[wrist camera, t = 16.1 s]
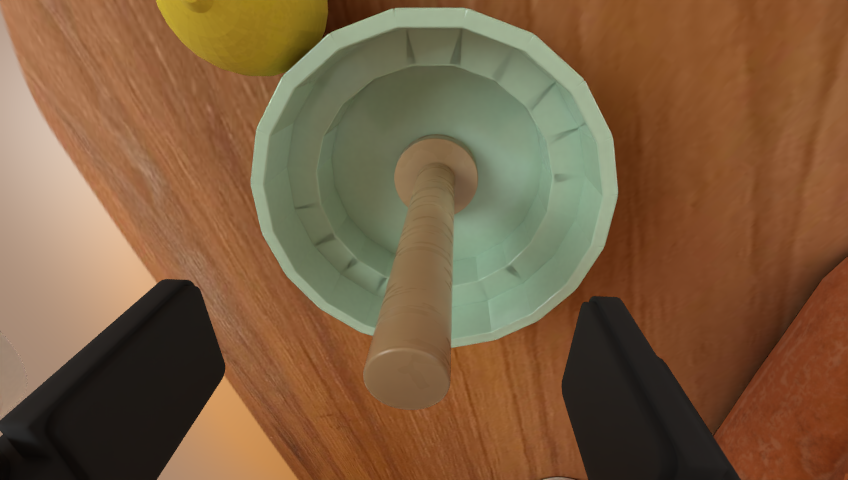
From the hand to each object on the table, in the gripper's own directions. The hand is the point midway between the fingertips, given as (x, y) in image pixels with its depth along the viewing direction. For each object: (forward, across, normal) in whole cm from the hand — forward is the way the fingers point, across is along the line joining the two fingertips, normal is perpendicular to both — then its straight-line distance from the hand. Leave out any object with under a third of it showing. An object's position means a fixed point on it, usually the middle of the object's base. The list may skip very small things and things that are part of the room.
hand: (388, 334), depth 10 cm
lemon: (+14, +6, -8) cm, 17 cm away
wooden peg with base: (+13, -1, 0) cm, 13 cm away
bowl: (+14, -1, 0) cm, 14 cm away
